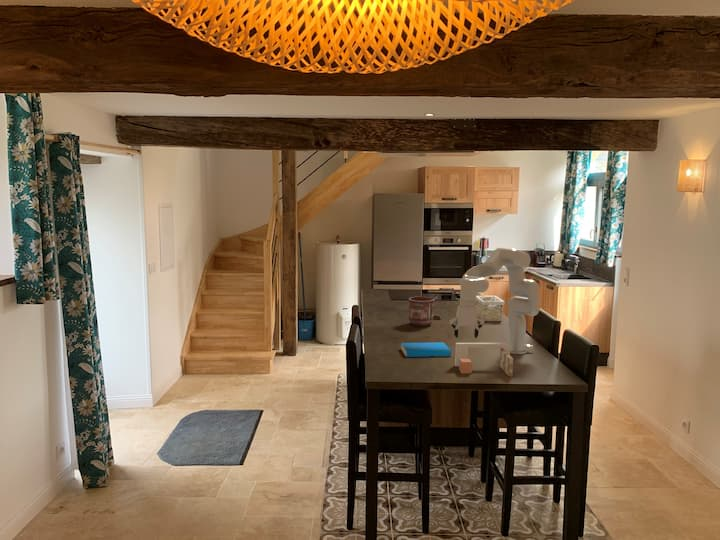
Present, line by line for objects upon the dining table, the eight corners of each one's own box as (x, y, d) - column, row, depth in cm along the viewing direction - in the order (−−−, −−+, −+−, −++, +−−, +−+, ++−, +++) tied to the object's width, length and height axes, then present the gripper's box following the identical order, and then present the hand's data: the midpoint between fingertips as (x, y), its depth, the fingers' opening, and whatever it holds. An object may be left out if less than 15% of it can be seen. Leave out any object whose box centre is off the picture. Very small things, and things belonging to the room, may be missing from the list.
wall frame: (508, 365, 303) (509, 342, 301) (509, 366, 301) (510, 343, 299) (455, 365, 302) (455, 342, 300) (455, 366, 300) (456, 343, 298)
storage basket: (474, 314, 427) (474, 295, 425) (495, 314, 427) (496, 295, 425) (481, 322, 403) (482, 301, 401) (504, 322, 404) (505, 301, 402)
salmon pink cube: (468, 370, 294) (469, 358, 293) (471, 373, 288) (471, 362, 287) (459, 370, 294) (459, 358, 293) (461, 373, 288) (461, 362, 287)
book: (400, 343, 331) (443, 341, 334) (400, 350, 332) (443, 348, 335) (406, 351, 314) (451, 349, 317) (406, 358, 315) (451, 357, 318)
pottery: (435, 328, 383) (436, 301, 381) (408, 327, 384) (409, 300, 381) (432, 322, 401) (433, 296, 399) (407, 321, 401) (407, 296, 399)
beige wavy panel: (499, 366, 300) (500, 348, 299) (502, 366, 300) (503, 348, 299) (508, 377, 283) (509, 358, 282) (512, 377, 283) (513, 358, 282)
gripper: (483, 302, 290) (481, 335, 292) (448, 301, 289) (447, 335, 292) (486, 305, 283) (485, 339, 285) (451, 304, 282) (450, 338, 284)
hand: (466, 337), depth 288 cm, fingers open, 9 cm apart
